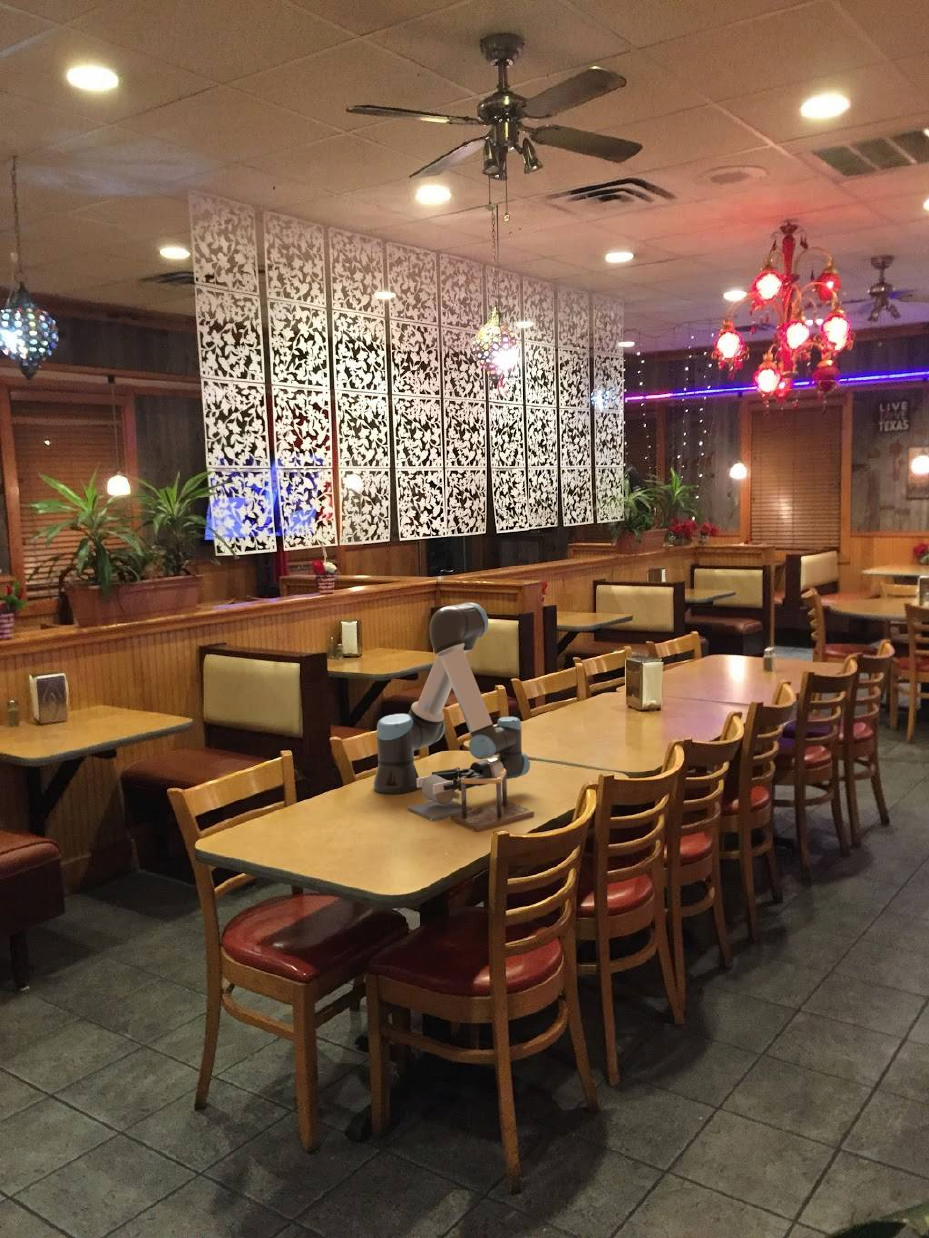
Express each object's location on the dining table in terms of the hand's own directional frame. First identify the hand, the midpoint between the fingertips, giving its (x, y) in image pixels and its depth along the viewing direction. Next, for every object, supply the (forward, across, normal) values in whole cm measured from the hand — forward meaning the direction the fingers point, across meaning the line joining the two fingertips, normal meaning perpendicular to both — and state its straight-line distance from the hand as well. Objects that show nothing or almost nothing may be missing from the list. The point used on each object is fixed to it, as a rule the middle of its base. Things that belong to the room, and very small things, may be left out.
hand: (425, 786), depth 297 cm
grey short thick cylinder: (-6, 0, -6) cm, 9 cm away
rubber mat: (-5, 0, -8) cm, 10 cm away
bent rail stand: (-12, -16, -8) cm, 22 cm away
